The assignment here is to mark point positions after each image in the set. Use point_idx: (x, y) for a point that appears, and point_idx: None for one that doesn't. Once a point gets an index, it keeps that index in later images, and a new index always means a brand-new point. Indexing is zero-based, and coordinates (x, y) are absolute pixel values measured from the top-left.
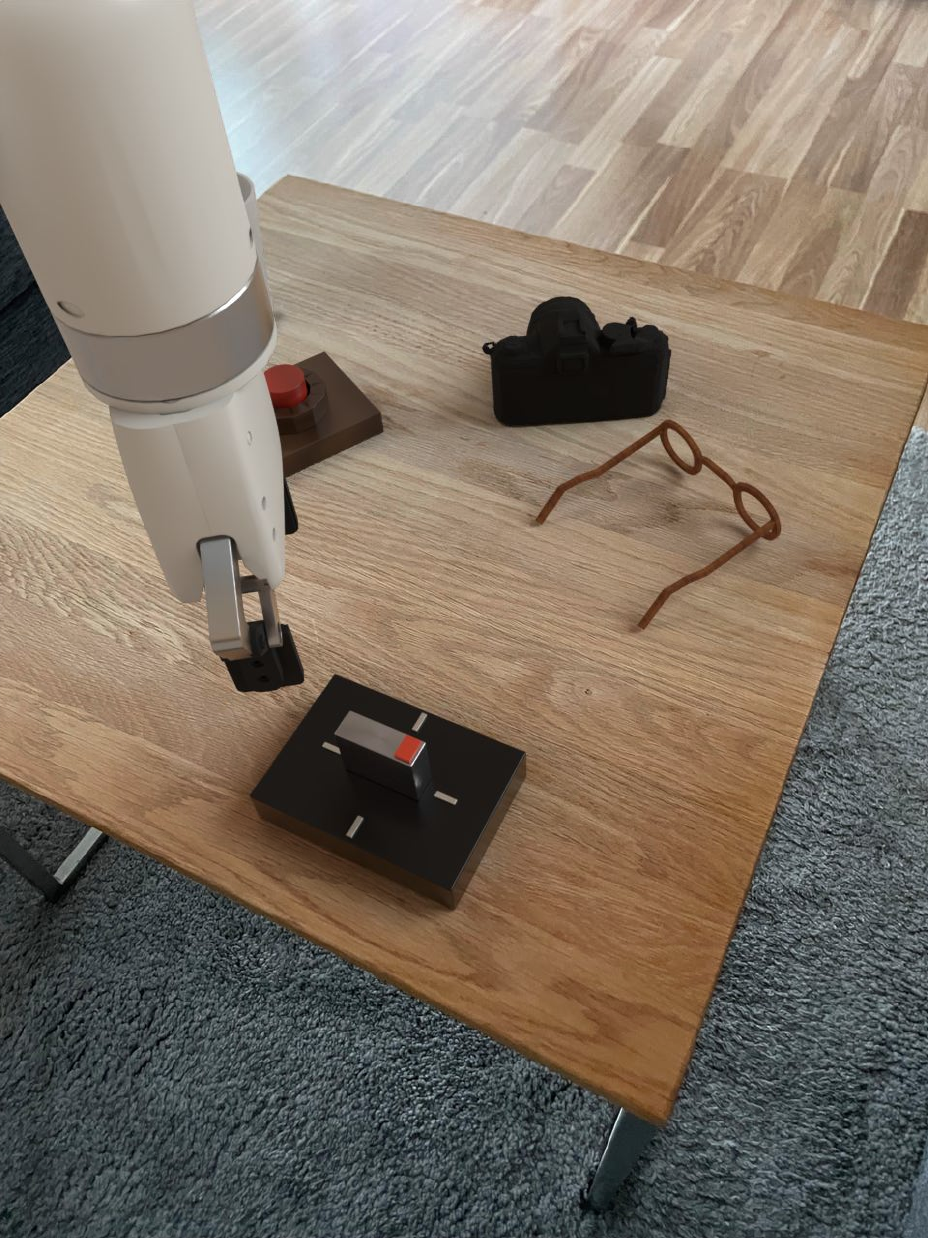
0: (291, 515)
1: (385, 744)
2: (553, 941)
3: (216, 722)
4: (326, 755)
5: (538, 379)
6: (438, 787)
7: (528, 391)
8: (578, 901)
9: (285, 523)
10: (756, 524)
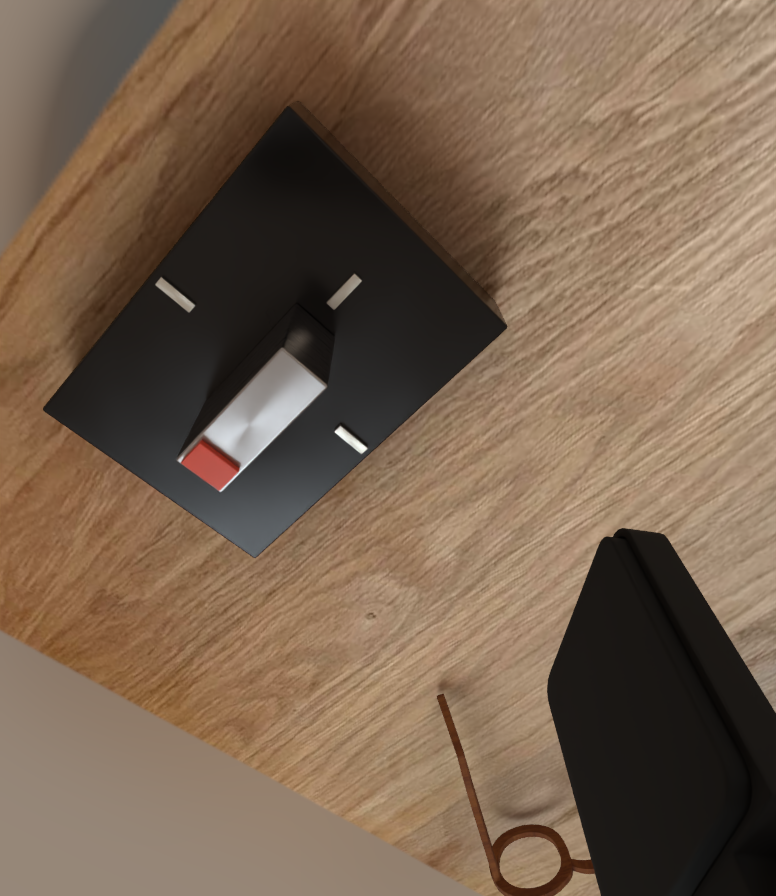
0: (567, 766)
1: (232, 430)
2: (18, 480)
3: (542, 44)
4: (334, 276)
5: None
6: None
7: None
8: (70, 521)
9: (566, 713)
10: (527, 836)
